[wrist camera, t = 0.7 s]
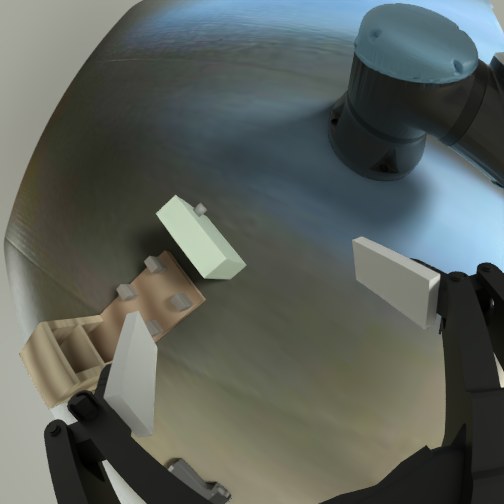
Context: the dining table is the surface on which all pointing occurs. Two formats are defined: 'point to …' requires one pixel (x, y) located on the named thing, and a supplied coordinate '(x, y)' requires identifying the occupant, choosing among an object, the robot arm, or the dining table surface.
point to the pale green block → (200, 240)
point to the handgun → (199, 483)
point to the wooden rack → (106, 330)
